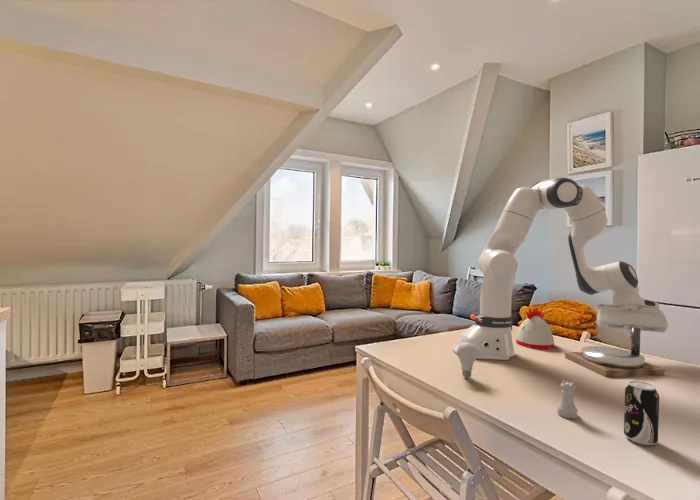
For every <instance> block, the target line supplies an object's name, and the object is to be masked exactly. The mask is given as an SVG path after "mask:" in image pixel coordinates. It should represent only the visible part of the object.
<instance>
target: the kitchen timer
mask: <svg viewBox="0 0 700 500" xmlns="http://www.w3.org/2000/svg"><path fill="white" fill-rule="evenodd" d="M525 313H526V317H527V318H525V319H524V321H522V323H521V324H520V325H519V326H518V331H517V333H516V338H515V341H516V345H519V346H521V347H524V348H529V349H534V350H535V349H536V350H552V349H553V348H554V347H555V339H554V336H553V333H552V329H551V328H550V326H549V324H548V323H547V322H546V321H545V320H544V316H545V313H544V312H543V313H542V310H539V308H538V307H536V308H534V307H533V308H529V309H528V311H525Z"/></svg>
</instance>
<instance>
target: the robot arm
mask: <svg viewBox="0 0 700 500" xmlns="http://www.w3.org/2000/svg"><path fill="white" fill-rule="evenodd" d="M540 209H543V210H544V209H548V210H556V209H564V210H565V212H566V213H567V215H568V218H569V220H570V222H571V226H572V227H571V231H570V232H569V233H568V238H567V239H568V240H567V241H568V246H569V250H570V251H569V252H570V255H571V260H572V263H573V267H574V271H575V276H576V284H577V287H578V288H579V290H580V291H581V292H582V293H584V294H587V295H591V296H593V295H596V294H599V293H602V292H606V291H607V292H608V291H610V293H611V295H612V299H611V301H612V304H602V303H600V304H598V305H596V306H595V307H594V310H595V313H596V314H597V316H596V317H597V318H596V319H597V320H596V321H597V325H598V327H600V328H601V327H602V328H610V329H622V331H623V332H624V333H625V334H626V336H627V339H628V340H631V332H632V327H637V328H641V332H642V331H643V332H652V333H653V332H654V333H664V332H666V331H667V330H668V327H669V325H668V324H669V323H668V320H667V318H666V315H665V313H664V312H663V310H661V309H660V303H658V302H656V301H654V300H650V299H646V298H643V297H641V295H640V293H639V292H640V288H639V279H638V274H637V273H636V270H635V268H634V267H633V266H632V265H631V264H629V263H628V262H624V261H621V260H619V261H614V262H610V263H607V264H603V265H599V266H593V267H589V266H588V265H587V260H586V257H585V253H584V247H586V245H587V244H588V243H590V242H591V241H592V240H594V239H596V238H597V237H598V236H600V235H601V233H603V231H604V230H605V229H606V228H607V225H608V223H609V222H608V216H607V213H606V211H605V208H604V206H603V204H602V202H601V200H600V199H599V197H598V196H597V194H596V193H595V192H594V190H593V189H592V188H591V187H590V186H589V185H587V184H578V183H577V182H576V181H575V180H573V179H571V178H568V177H557V178H548V179H545V180H542V181H541V180H540V181H538V182H536V183H534V184H533V185H532V186H530V187H526V186H521V187H519V188H516V189H515V190H514V191H513V193H512V194H511V195H510V197H509V199H508V201H507V203H506V204H505V206H504V208H503V210H502V212H501V215H500V217H499V219H498V221H497V224H496V226H495V228H494V231H493V232H492V233H491V236H490V237H489V239H488V241H487V243H486V244H485V246H484V247H483V250H482V252H481V253H480V256H479V257H478V261H477V266H478V268H479V271H480V272H481V273H482V274H483V277H482V285H481V290H480V294H479V295H480V296H479V313H478V314H477V315H476V314H474V313H471V314H470V316H469V317H470V319H471V320H472V321H474V324H472V325H471V326H469V327H468V328H466V329H465V330H464V331H462V332H461V334H460V335H459V339H458V342H457V343H458V344H453V345H452V351H453V352H454V353H455V354H456V355H457V348H458V346H459V345H460V344H461V343H464V342H469V343H472V344H473V345H474V346H475V347H476V348H477V351H478V355H477V358H476V359H479V360H480V359H481V360H499V361H500V360H503V361H508V360H510V359H511V358H512V357H515V355H516V352H515V349H514V343H513V334H512V330H513V316H512V299H513V297H512V295H513V290H514V284H515V279H516V273H517V271H518V266H519V264H518V261H517V259H516V257H515V254H516V253H517V251H518V250H519V248H520V247H521V245H522V244H523V243H524V242H525V239H526V238H527V235H528V234H529V231H530V230H531V226H532V225H533V223H534V222H533V221H534V219H535V217H536V215H537V213H538V211H540ZM630 330H631V331H630ZM641 332H640V334H641Z"/></svg>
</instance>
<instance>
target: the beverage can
mask: <svg viewBox="0 0 700 500" xmlns="http://www.w3.org/2000/svg"><path fill="white" fill-rule="evenodd" d="M623 411H624V414H623V416H624V417H623V435H624V436H625V437H626V438H628V439H629V440H630V441H631V442H633V443H636V444H639V445H642V446H646V447H647V446H648V447H649V446H653V445H657V444H658V442H659V419H660V394H659V393H658V391H657V388H656V386H655V385H654V384H651V383H648V382H646V381H645V382H644V381H639V380H630V381H628V385H626V387H625V389H624V410H623Z"/></svg>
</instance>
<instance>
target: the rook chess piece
mask: <svg viewBox="0 0 700 500" xmlns="http://www.w3.org/2000/svg"><path fill="white" fill-rule="evenodd" d="M559 385H560V387H561V391H560V392H561V398H560V402H559V404H557V407H556V409H557V410H556V412H557V414H558V415H559V416H561V417H562V418H566V419H568V420H569V419H572V420H573V419H576V418H577V417H578V416H579V415H578V412H579V411H578V408H576V405H575V402H574V401H575V400H574V395H575V392H574V391H575V390H576V386H575V384H574V382H573V381H569V380H561V383H560V384H559Z"/></svg>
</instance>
